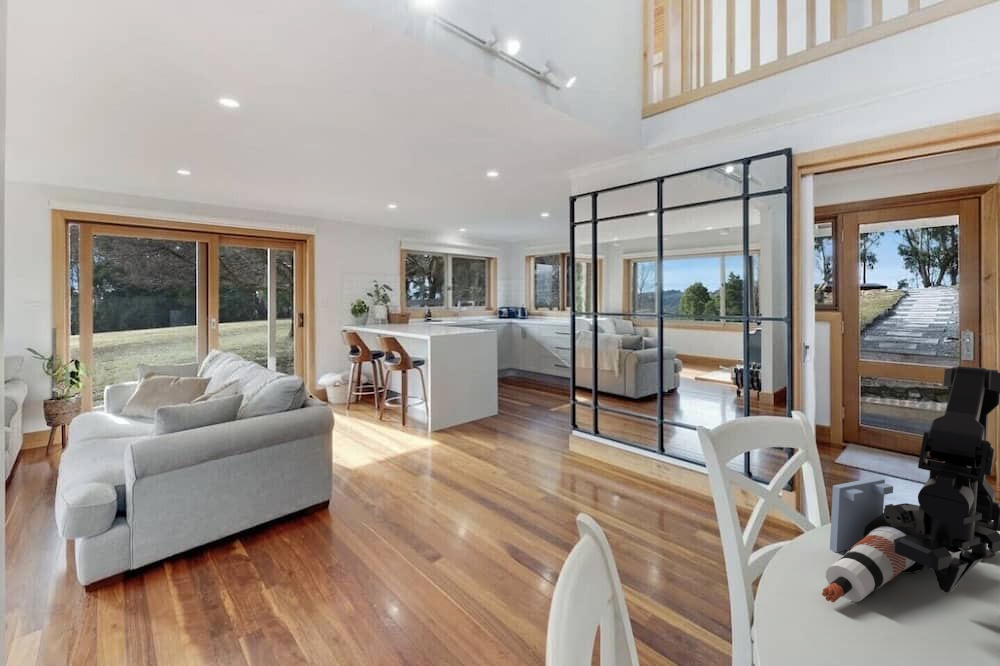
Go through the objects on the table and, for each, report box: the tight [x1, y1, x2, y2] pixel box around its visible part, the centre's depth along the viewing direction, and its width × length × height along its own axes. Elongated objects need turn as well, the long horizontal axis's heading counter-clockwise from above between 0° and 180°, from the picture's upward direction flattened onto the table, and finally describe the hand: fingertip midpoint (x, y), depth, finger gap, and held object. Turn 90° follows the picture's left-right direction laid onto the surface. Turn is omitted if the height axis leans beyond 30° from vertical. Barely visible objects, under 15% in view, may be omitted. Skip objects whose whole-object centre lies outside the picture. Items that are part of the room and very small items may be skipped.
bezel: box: [829, 476, 894, 553], centre depth 97 cm, size 14×4×14 cm, turn 109°
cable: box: [821, 503, 929, 603], centre depth 86 cm, size 10×34×10 cm, turn 118°
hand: (945, 591), depth 77 cm, fingers closed
